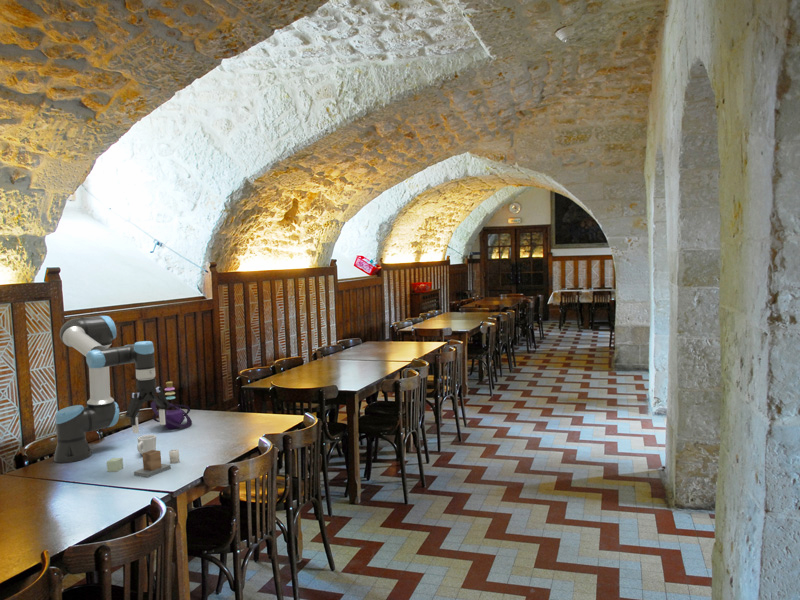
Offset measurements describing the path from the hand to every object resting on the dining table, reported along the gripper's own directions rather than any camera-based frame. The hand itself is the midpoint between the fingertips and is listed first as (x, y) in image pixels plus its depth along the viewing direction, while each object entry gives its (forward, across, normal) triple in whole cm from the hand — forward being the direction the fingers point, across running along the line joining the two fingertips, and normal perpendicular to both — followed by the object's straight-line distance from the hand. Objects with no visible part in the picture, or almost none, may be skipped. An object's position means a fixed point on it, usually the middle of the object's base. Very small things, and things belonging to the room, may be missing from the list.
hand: (149, 428), depth 259 cm
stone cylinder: (+19, +13, +1) cm, 23 cm away
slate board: (+18, 0, 0) cm, 19 cm away
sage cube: (+19, -4, +18) cm, 27 cm away
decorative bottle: (+19, +55, +50) cm, 77 cm away
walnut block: (+17, 0, 0) cm, 17 cm away
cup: (+19, +16, +23) cm, 34 cm away
